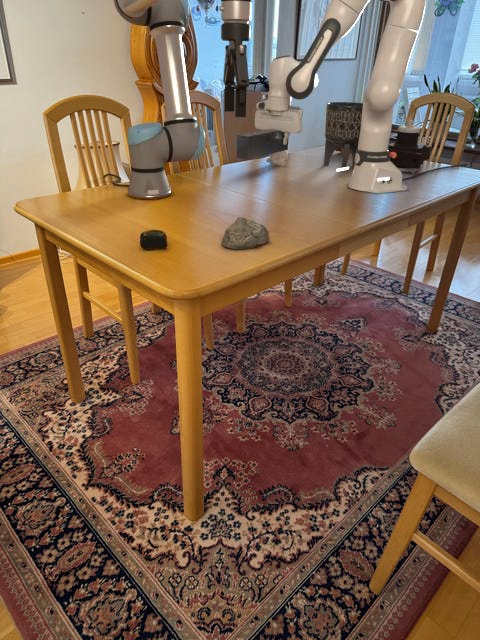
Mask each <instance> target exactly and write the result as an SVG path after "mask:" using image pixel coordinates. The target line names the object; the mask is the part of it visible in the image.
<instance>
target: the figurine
mask: <svg viewBox="0 0 480 640" xmlns="http://www.w3.org/2000/svg"><path fill="white" fill-rule="evenodd" d="M289 146H290V145H289V144H288V147H289ZM268 156H269V157H268V158H266V160H265V162H266V163H269V164H270V165H277V166H285V165H284V163H285V161H287V160H288V159H289V154H288V150H285V151H281V152H277V153H273V154H269V155H268Z"/></svg>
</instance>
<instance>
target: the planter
mask: <svg viewBox="0 0 480 640" xmlns="http://www.w3.org/2000/svg"><path fill="white" fill-rule="evenodd" d="M362 110H363V102H353V101H333V102H327V103H326V109H325V124H324V125H325V126H324V139H325V144H324V156H323V157H324V158H323V165H325V166H328V165H330V163H331V158H332V156H333V154H334V153H335V151H336V149H338V148H340V147H342V152H341V166H340V168H345V167H348V166H347V165H348V159H349V154H348V152H349V150H350V151H351V153H352V154H351V157H352V158H351V159H352V160H351V161H352V166H353V167H354V166H355V155H356V149H357V148H358V143H359V136H360V128H361V119H362ZM345 171H347V170H343V171H342V172H345Z"/></svg>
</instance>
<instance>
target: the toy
mask: <svg viewBox="0 0 480 640" xmlns="http://www.w3.org/2000/svg"><path fill="white" fill-rule="evenodd" d="M335 151H336V152H340V153H342V147H340V148H338V149H336V150H335ZM348 155H352V153H351V151H350V150H349V152H348Z"/></svg>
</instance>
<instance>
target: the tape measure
mask: <svg viewBox="0 0 480 640" xmlns="http://www.w3.org/2000/svg"><path fill="white" fill-rule="evenodd" d="M167 236H168V235H167V234H166V232H165V231H164V230H161V229H147V230H144V231H143V232H141V233H140V235H139V240H140V241H139V245H140V246H139V247H141V248H142V249H146V250H157V249H167V248H168V240H167V239H168V237H167Z"/></svg>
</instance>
